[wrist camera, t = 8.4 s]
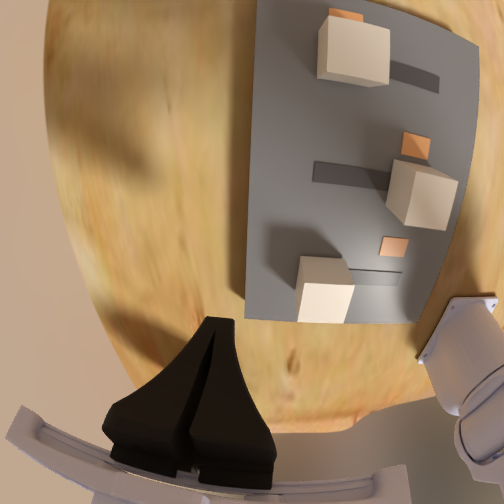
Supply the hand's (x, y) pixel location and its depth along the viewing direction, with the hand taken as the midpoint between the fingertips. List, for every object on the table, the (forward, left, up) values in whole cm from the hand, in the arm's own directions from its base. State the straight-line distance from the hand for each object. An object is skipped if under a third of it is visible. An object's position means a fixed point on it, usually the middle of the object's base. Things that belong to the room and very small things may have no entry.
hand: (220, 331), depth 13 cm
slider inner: (-1, -6, -6) cm, 8 cm away
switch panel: (+6, -8, -8) cm, 13 cm away
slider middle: (+6, -11, -6) cm, 14 cm away
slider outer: (+13, -6, -6) cm, 16 cm away
